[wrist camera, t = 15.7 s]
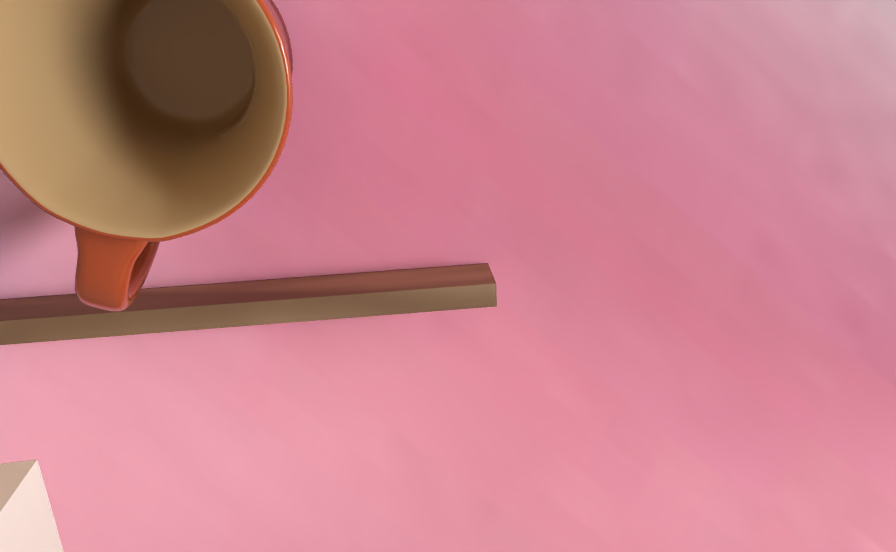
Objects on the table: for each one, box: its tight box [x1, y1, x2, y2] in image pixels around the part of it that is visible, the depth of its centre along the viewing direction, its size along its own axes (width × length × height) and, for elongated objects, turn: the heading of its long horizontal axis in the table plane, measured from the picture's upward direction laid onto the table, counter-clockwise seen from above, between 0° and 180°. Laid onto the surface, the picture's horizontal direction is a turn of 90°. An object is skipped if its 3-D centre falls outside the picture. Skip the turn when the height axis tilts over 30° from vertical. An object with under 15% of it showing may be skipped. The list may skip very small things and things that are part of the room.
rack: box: [0, 263, 497, 345], centre depth 33 cm, size 35×24×6 cm
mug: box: [0, 0, 293, 311], centre depth 28 cm, size 12×9×10 cm
